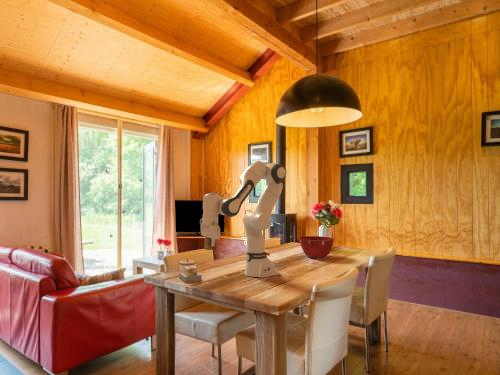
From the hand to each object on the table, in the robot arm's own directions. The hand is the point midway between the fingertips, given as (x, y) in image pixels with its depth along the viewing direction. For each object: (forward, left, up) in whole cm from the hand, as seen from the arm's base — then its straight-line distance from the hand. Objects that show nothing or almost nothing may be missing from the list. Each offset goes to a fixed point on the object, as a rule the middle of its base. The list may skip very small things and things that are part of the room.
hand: (210, 245), depth 185 cm
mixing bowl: (-105, -27, -21) cm, 110 cm away
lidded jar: (+5, -22, -21) cm, 31 cm away
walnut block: (0, 0, -2) cm, 2 cm away
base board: (+8, -10, -21) cm, 24 cm away
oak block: (+8, -10, -18) cm, 22 cm away
